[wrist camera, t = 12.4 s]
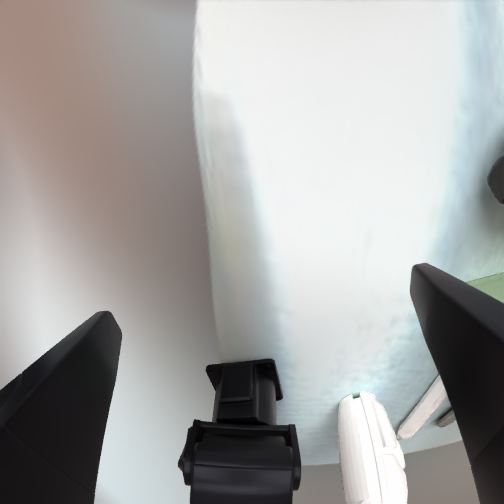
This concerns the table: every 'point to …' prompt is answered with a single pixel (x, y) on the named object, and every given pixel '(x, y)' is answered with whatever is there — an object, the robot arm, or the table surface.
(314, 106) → the table surface
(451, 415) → the stone
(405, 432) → the marker
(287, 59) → the table surface
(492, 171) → the cat figurine
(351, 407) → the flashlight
